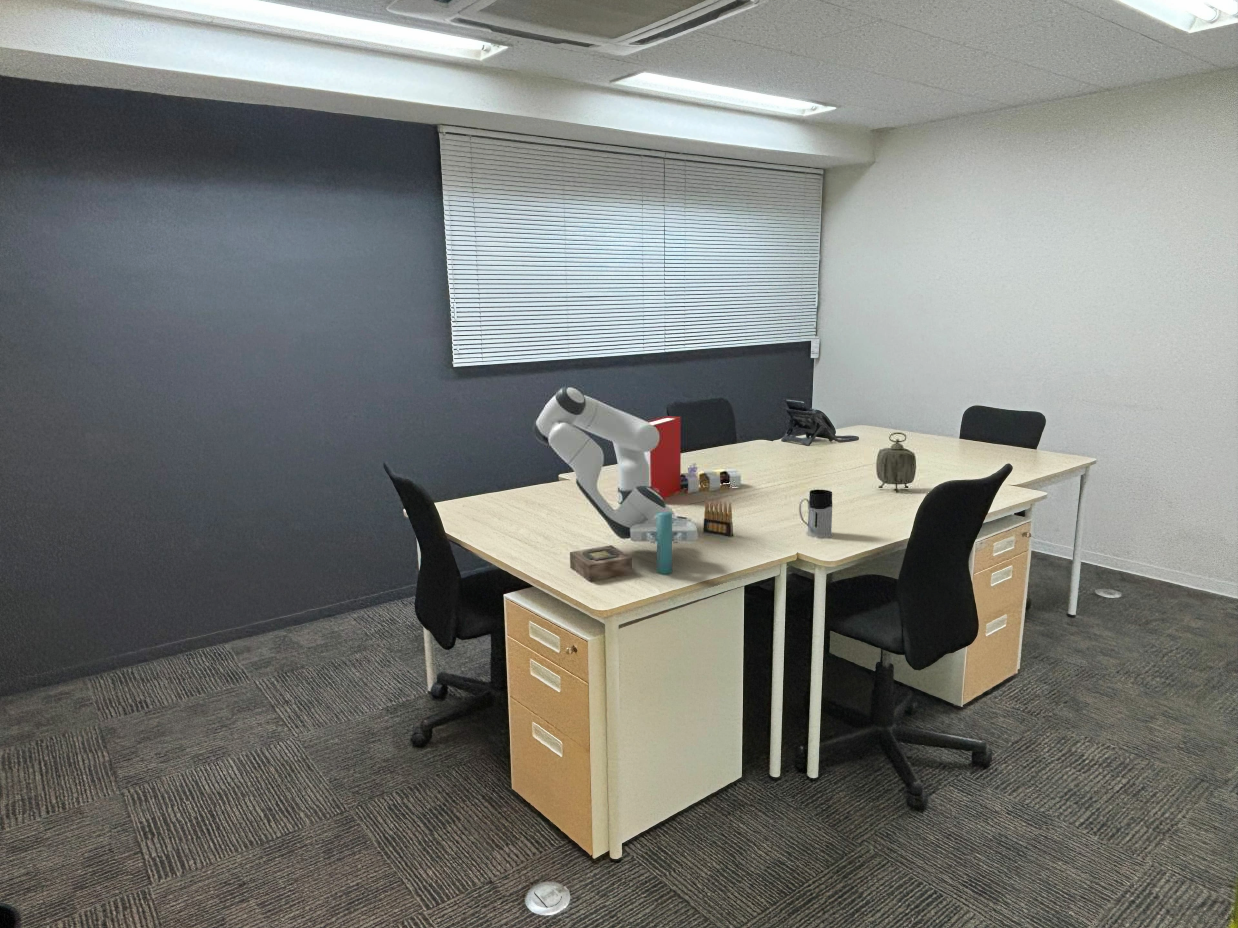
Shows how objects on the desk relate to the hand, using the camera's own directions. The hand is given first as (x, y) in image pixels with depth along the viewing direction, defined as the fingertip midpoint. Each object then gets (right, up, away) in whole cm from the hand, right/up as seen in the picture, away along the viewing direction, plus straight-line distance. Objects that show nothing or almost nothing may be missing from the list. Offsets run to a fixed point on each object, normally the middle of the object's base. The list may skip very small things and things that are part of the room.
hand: (664, 540), depth 226 cm
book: (+3, +9, +97) cm, 98 cm away
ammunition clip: (+21, -2, +41) cm, 46 cm away
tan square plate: (-19, -6, +4) cm, 20 cm away
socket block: (-19, -10, +5) cm, 22 cm away
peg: (0, -10, +3) cm, 10 cm away
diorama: (+26, +11, +109) cm, 113 cm away
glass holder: (+53, -2, +37) cm, 65 cm away
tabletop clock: (+103, +11, +99) cm, 143 cm away
